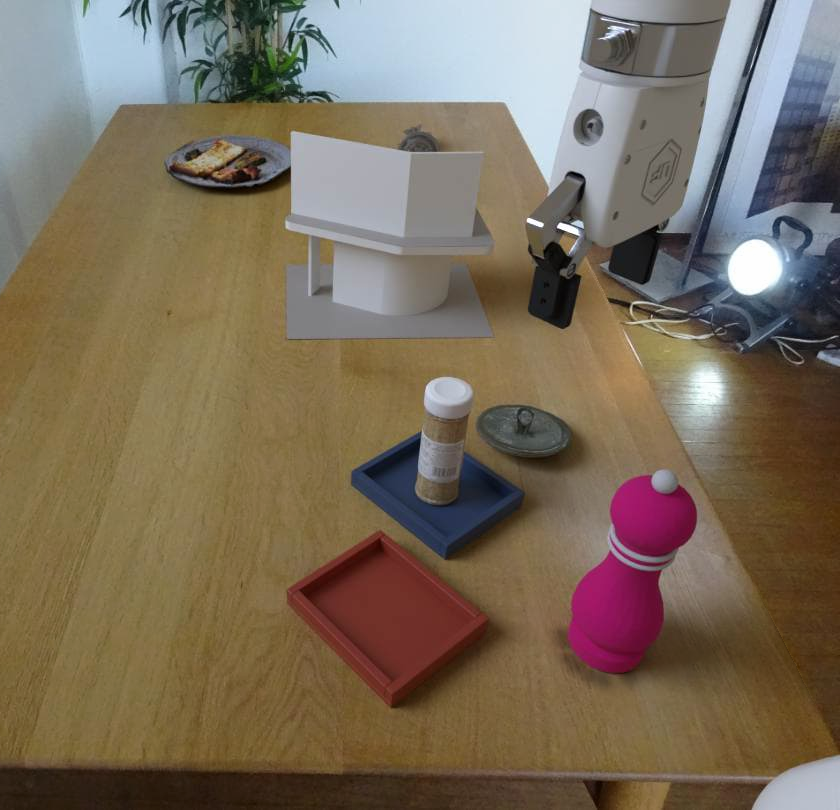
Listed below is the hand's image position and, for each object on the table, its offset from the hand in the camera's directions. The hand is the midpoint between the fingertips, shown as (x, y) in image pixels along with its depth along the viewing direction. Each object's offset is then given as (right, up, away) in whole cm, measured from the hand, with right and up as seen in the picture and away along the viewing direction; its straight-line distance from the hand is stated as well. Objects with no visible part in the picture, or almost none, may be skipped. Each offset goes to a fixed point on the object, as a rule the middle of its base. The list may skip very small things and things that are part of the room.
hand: (589, 298), depth 58 cm
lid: (+4, -12, +33) cm, 36 cm away
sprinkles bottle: (-7, -17, +26) cm, 32 cm away
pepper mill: (+5, -29, +12) cm, 31 cm away
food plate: (-34, +37, +97) cm, 110 cm away
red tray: (-13, -27, +14) cm, 33 cm away
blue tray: (-7, -17, +26) cm, 32 cm away
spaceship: (+1, +36, +96) cm, 103 cm away
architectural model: (-9, +8, +59) cm, 60 cm away
